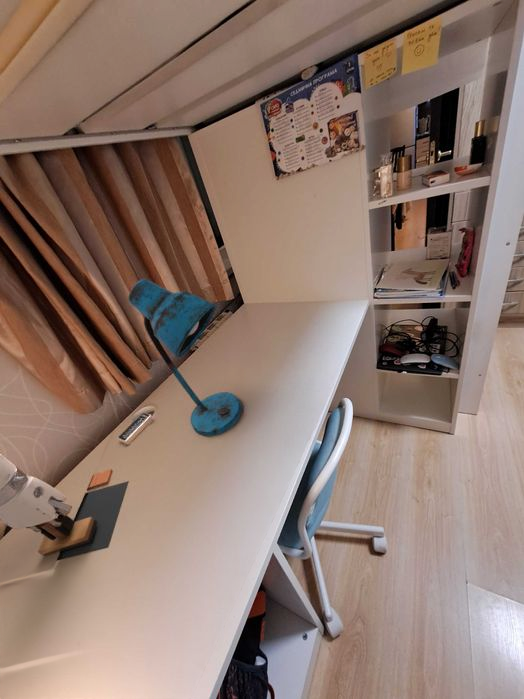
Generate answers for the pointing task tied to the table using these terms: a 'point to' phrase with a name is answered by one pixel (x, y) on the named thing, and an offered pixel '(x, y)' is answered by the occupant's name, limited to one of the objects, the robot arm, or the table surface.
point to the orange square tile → (103, 478)
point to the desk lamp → (184, 346)
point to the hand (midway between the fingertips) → (63, 530)
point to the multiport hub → (135, 428)
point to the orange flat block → (92, 482)
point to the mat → (98, 517)
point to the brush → (77, 537)
